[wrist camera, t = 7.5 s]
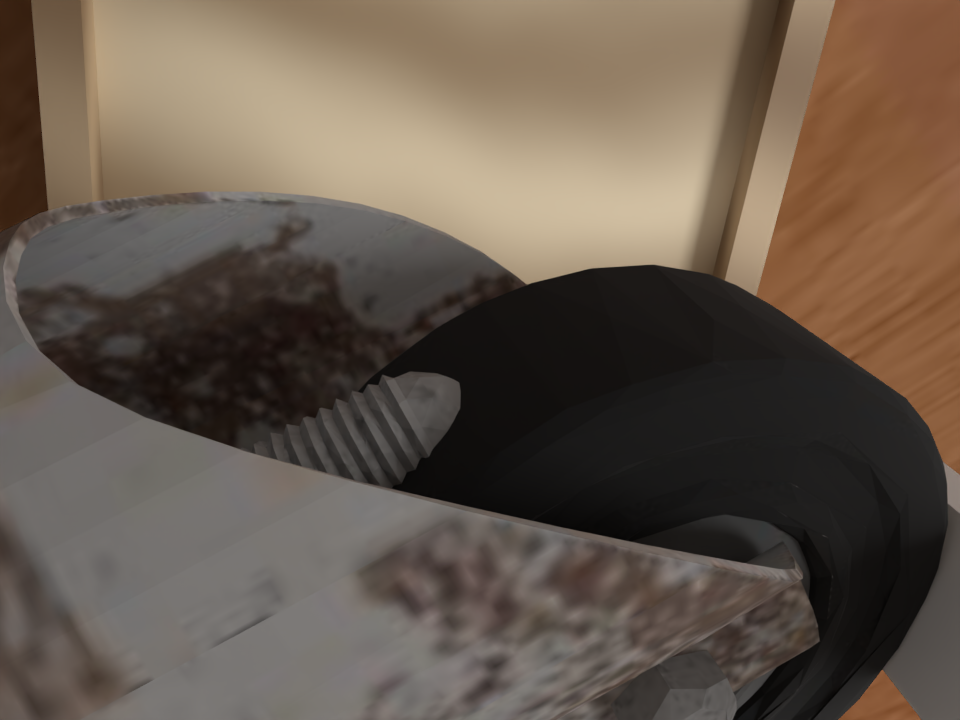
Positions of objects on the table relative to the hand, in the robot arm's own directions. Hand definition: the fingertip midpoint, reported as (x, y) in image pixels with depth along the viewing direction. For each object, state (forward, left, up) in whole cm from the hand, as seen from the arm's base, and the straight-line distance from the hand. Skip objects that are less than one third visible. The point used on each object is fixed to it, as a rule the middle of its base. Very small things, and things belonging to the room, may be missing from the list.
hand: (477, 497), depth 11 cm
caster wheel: (-1, 0, -1) cm, 1 cm away
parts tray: (0, 0, -12) cm, 12 cm away
